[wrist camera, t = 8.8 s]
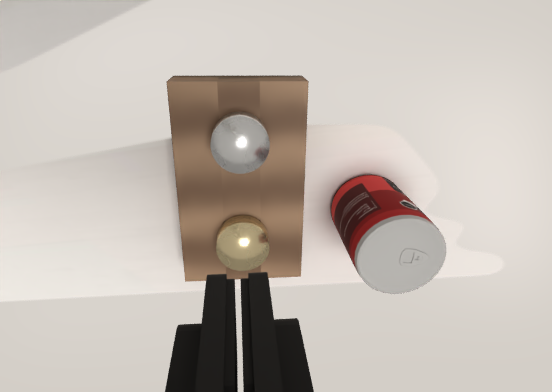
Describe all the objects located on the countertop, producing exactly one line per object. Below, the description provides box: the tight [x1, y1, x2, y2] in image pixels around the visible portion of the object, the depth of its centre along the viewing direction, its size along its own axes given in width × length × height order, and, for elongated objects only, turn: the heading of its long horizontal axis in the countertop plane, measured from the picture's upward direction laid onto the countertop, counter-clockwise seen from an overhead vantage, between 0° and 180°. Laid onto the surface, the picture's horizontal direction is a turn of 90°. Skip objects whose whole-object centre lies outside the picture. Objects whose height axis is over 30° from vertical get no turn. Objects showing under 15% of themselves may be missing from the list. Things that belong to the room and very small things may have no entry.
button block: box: [167, 76, 308, 281], centre depth 40 cm, size 20×12×4 cm, turn 0°
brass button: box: [216, 215, 269, 271], centre depth 41 cm, size 5×5×6 cm
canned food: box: [331, 175, 446, 294], centre depth 40 cm, size 8×8×11 cm
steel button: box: [210, 112, 270, 174], centre depth 37 cm, size 5×5×6 cm
